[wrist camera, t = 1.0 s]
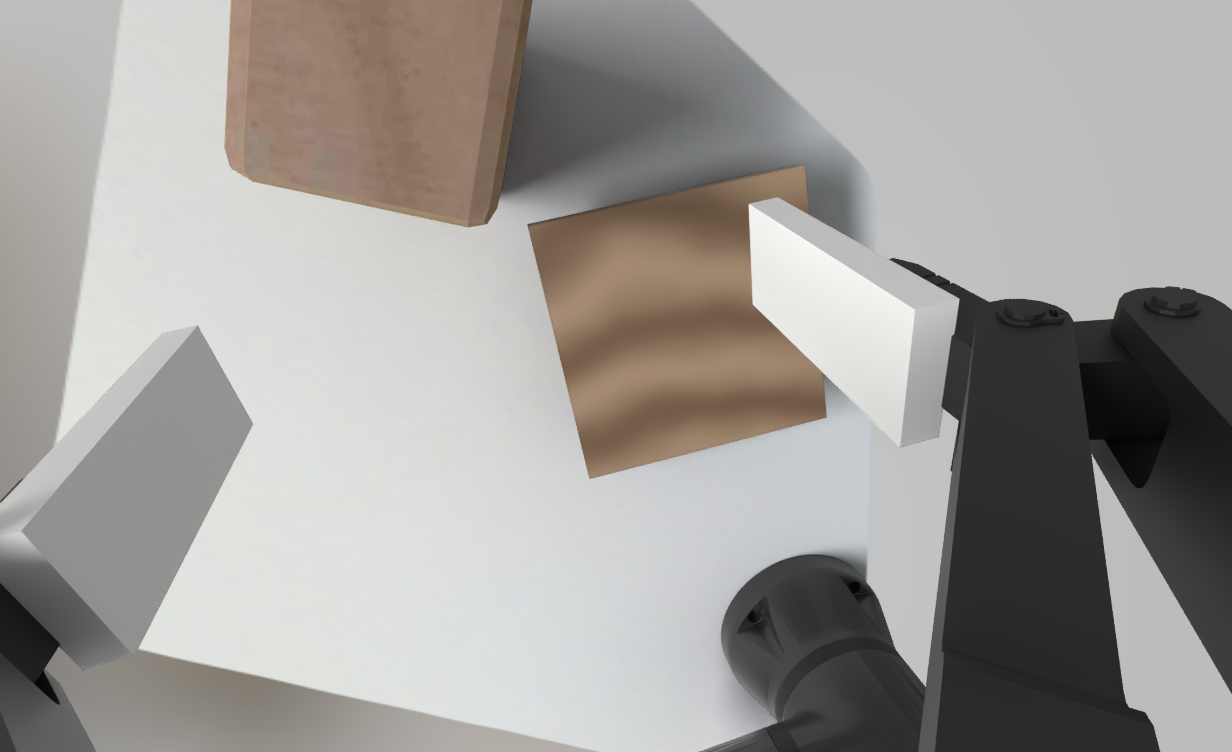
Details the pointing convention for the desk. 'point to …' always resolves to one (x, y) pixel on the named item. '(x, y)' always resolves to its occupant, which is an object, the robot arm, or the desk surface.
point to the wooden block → (377, 100)
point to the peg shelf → (671, 324)
